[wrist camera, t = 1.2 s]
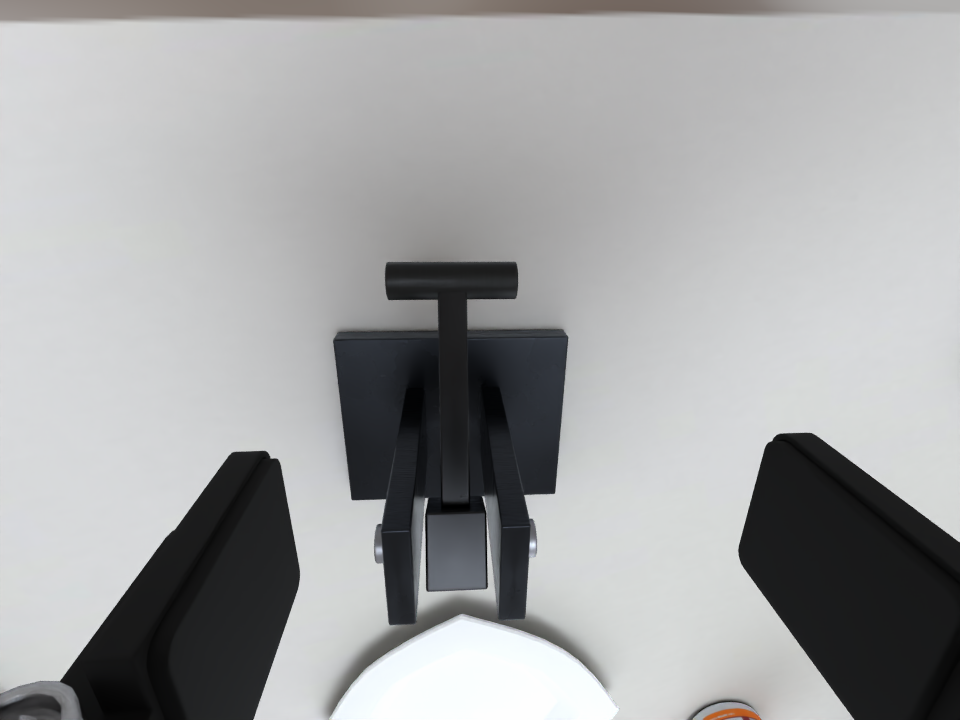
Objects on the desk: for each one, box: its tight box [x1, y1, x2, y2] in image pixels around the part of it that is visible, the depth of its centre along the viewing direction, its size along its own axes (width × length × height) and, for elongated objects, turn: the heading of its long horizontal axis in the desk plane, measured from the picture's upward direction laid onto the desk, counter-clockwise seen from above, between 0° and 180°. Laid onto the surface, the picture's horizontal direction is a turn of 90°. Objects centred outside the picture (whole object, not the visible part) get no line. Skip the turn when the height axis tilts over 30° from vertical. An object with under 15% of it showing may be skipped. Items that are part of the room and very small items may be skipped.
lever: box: [385, 262, 518, 592], centre depth 19 cm, size 12×5×2 cm, turn 179°
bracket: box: [333, 330, 568, 625], centre depth 22 cm, size 10×12×12 cm
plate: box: [329, 614, 619, 720], centre depth 37 cm, size 19×19×2 cm
